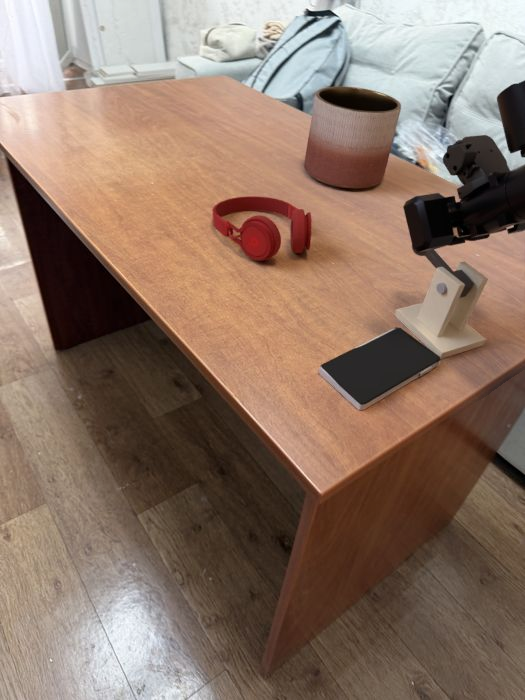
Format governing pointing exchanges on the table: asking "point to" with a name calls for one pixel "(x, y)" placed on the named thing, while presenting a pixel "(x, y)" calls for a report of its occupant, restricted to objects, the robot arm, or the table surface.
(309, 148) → the planter
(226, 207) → the headphones
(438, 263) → the switch lever
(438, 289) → the switch unit
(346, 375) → the smartphone
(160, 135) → the table surface
